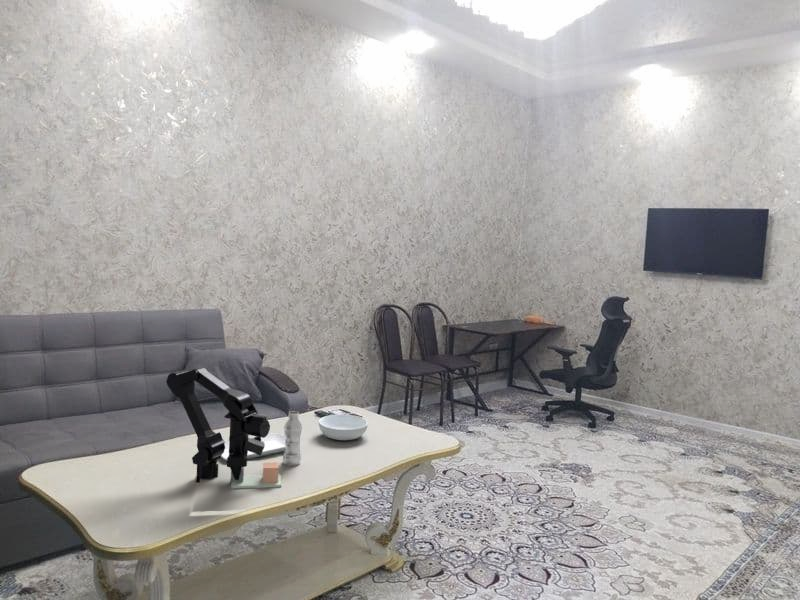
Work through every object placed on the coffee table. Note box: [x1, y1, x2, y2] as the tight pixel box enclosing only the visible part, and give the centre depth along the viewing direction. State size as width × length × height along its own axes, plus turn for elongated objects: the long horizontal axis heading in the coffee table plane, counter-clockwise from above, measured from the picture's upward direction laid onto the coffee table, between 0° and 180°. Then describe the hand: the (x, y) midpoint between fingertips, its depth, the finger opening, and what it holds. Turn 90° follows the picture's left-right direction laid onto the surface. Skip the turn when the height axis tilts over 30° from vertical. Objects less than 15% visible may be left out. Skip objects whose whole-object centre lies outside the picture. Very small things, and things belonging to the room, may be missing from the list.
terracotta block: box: [262, 461, 280, 483], centre depth 205 cm, size 5×5×5 cm
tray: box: [220, 432, 285, 462], centre depth 235 cm, size 17×32×4 cm, turn 132°
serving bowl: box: [318, 414, 369, 441], centre depth 259 cm, size 21×21×7 cm
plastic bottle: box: [282, 410, 303, 467], centre depth 222 cm, size 6×7×20 cm
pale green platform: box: [230, 467, 282, 490], centre depth 204 cm, size 16×9×5 cm, turn 103°
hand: (237, 478), depth 202 cm, fingers closed on pale green platform, 2 cm apart
